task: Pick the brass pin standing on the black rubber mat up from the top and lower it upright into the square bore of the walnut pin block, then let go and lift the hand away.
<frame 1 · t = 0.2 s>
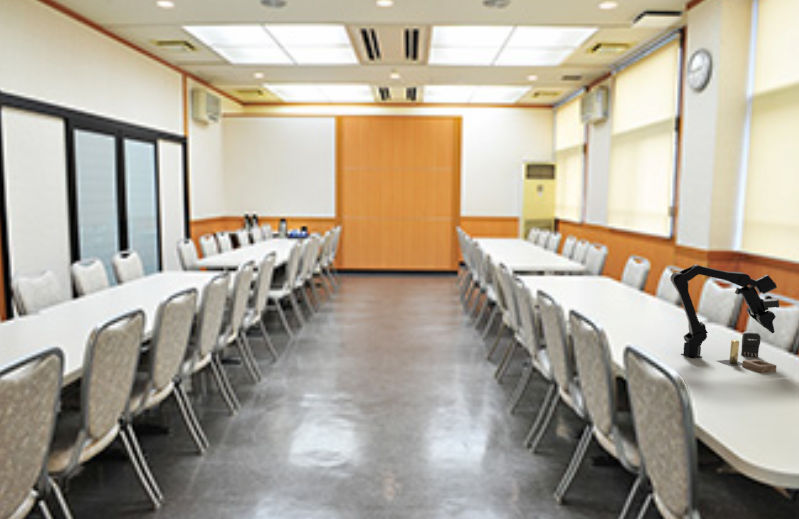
hand: (769, 330, 248), 15 cm above the table, tool tilted 30°, fingers open, 9 cm apart
pin: (733, 363, 246), resting on mat
pin block: (758, 369, 239), on the table
mat: (731, 363, 247), on the table
battery charger: (749, 357, 258), on the table
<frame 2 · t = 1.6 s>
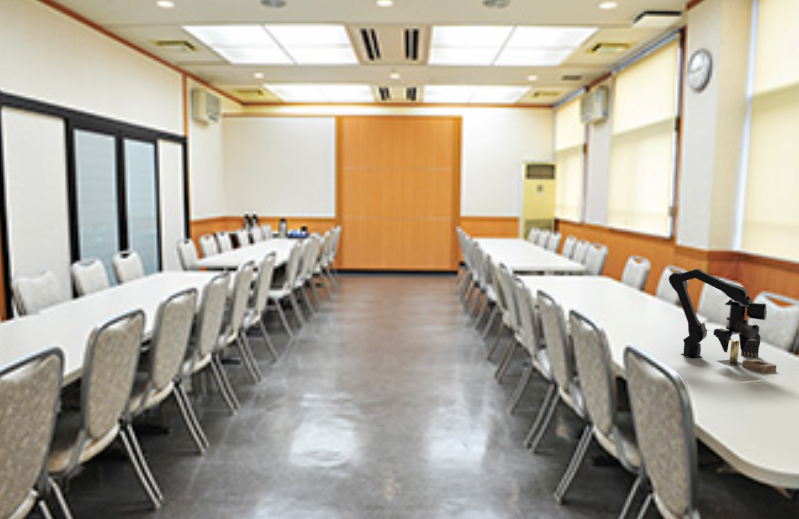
hand: (734, 351, 246), 6 cm above the table, tool pointing down, fingers open, 9 cm apart
nothing on the table moved.
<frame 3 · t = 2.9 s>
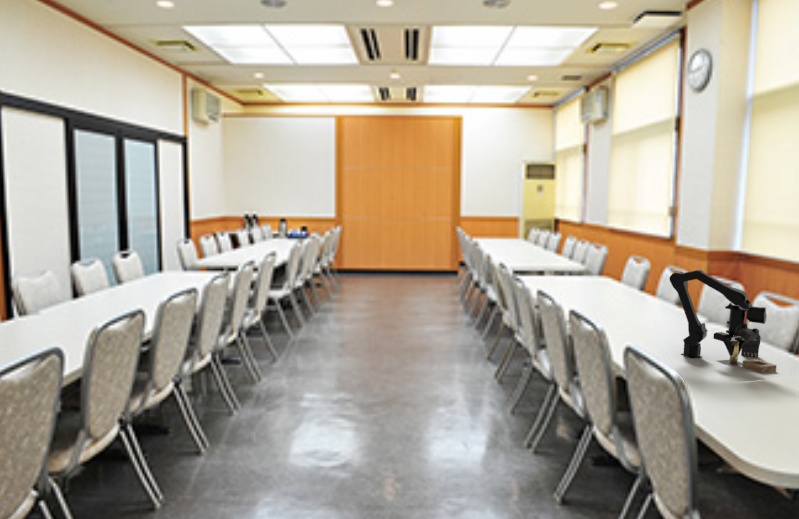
hand: (733, 355, 246), 4 cm above the table, tool pointing down, fingers closed on pin, 3 cm apart
pin: (733, 363, 246), resting on mat, touching gripper
everything else where it was.
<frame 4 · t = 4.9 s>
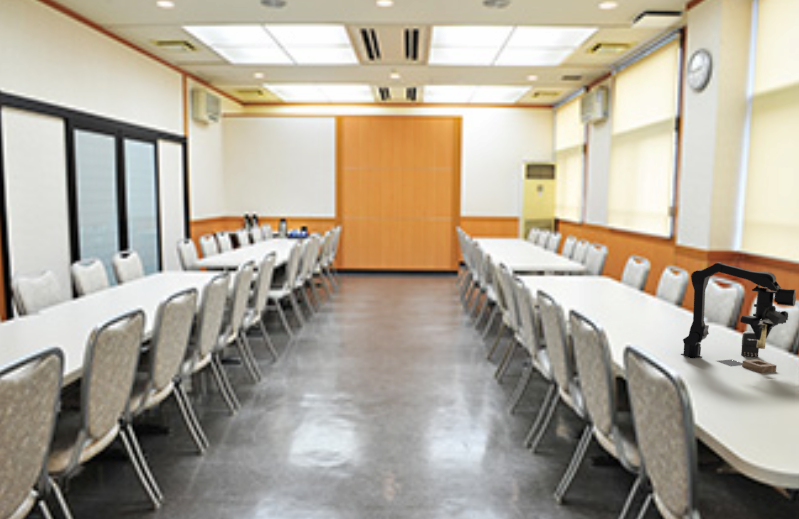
hand: (761, 339, 238), 13 cm above the table, tool pointing down, fingers closed on pin, 3 cm apart
pin: (760, 347, 238), point 10 cm above the table, touching gripper
everything else where it was.
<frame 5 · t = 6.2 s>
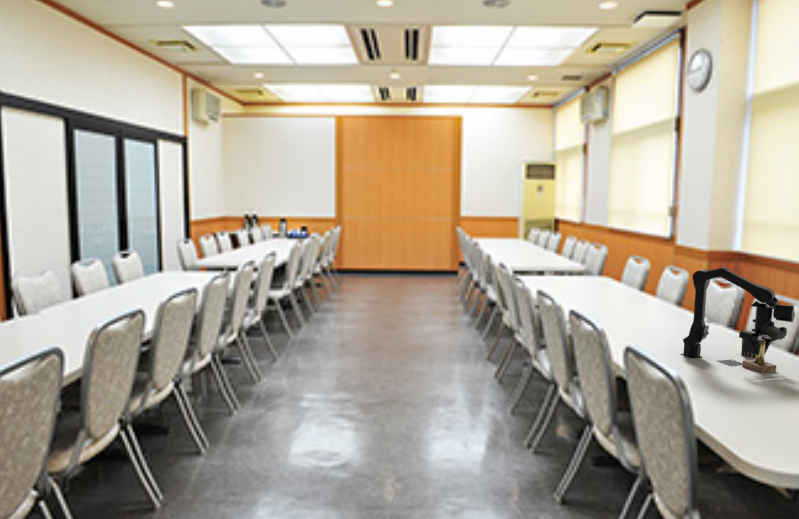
hand: (760, 354, 238), 7 cm above the table, tool pointing down, fingers closed on pin, 3 cm apart
pin: (759, 363, 239), point 3 cm above the table, touching gripper
everything else where it was.
when the fingers open (5 cm above the table, at t = 7.2 s): pin drops 1 cm, resting in pin block.
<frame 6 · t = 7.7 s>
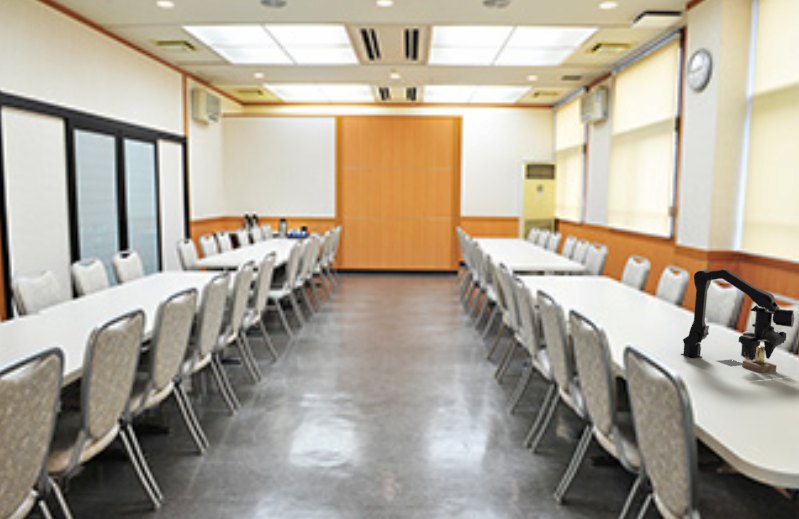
hand: (759, 359, 239), 5 cm above the table, tool pointing down, fingers open, 8 cm apart
pin: (758, 369, 239), resting in pin block
everything else where it was.
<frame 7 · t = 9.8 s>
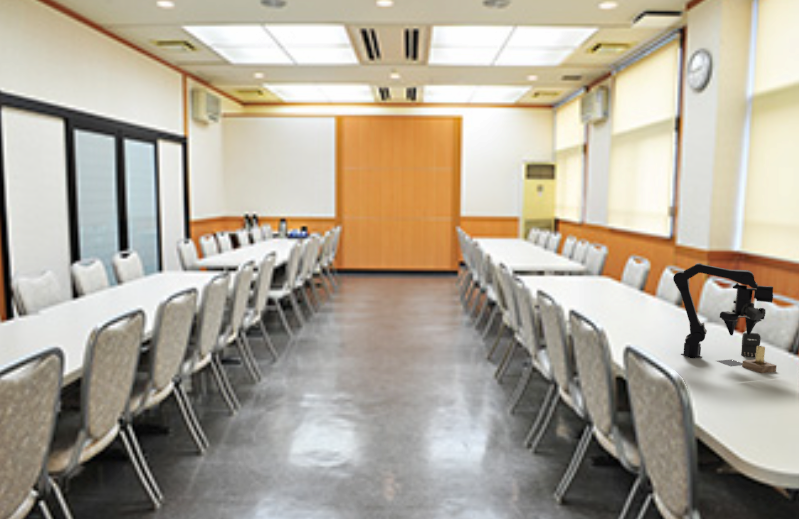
hand: (739, 334, 247), 13 cm above the table, tool pointing down, fingers open, 9 cm apart
nothing on the table moved.
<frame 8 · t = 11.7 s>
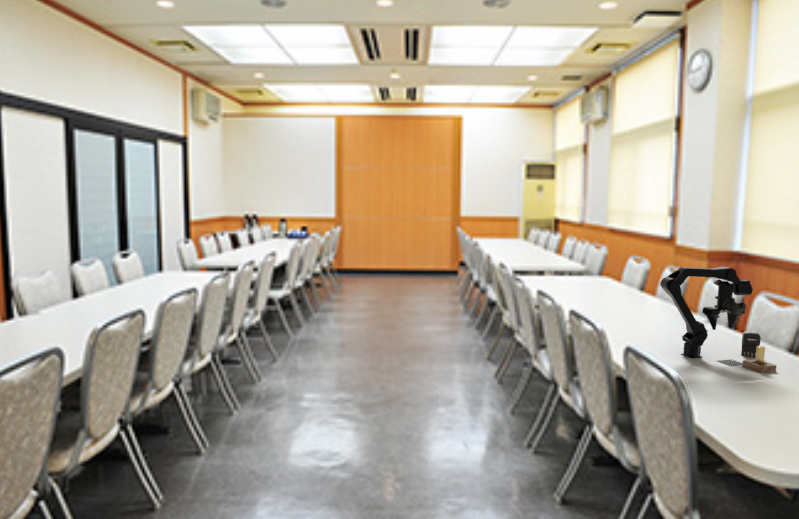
hand: (722, 329, 255), 13 cm above the table, tool pointing down, fingers open, 9 cm apart
nothing on the table moved.
at the end: pin 0.0 cm off-centre on the pin block, point 0.0 cm above the pin block's base; pin tilted 0°; the gripper is holding nothing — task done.
